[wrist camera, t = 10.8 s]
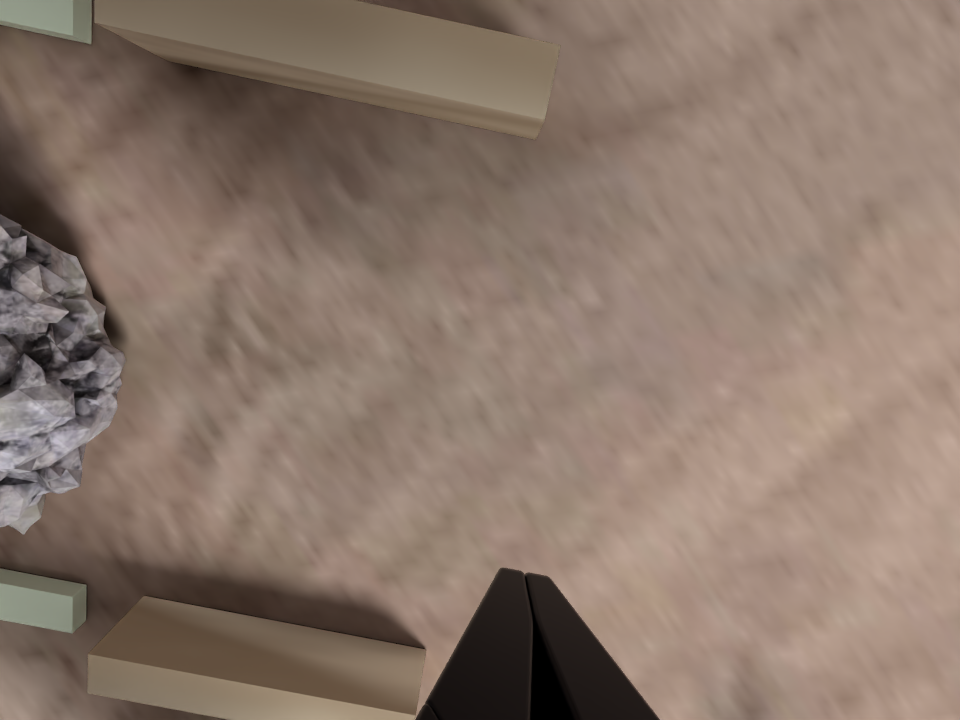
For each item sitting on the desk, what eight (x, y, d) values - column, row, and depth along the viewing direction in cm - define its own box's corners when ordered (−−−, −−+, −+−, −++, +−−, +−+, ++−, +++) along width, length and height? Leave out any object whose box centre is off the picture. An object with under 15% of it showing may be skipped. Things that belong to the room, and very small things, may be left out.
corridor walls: (419, 683, 18) (407, 752, 16) (142, 631, 18) (87, 693, 16) (548, 79, 13) (560, 45, 11) (169, -4, 13) (94, -57, 11)
